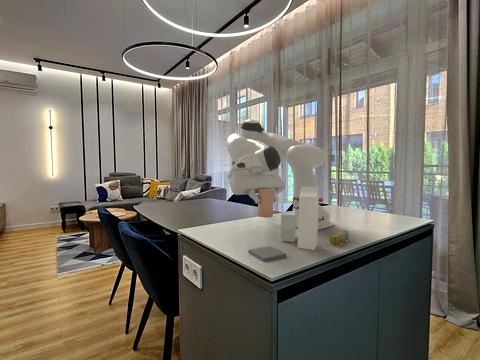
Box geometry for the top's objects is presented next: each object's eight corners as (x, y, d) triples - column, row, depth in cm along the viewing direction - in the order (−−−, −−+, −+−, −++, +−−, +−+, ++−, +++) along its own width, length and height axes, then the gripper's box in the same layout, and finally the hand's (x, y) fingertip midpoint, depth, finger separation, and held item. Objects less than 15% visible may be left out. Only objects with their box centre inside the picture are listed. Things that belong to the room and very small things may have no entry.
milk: (314, 250, 92) (316, 188, 90) (297, 248, 94) (299, 187, 93) (317, 245, 97) (319, 186, 96) (300, 243, 100) (302, 185, 98)
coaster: (270, 248, 93) (270, 245, 93) (286, 256, 85) (286, 253, 85) (248, 252, 89) (248, 249, 89) (263, 261, 81) (263, 258, 81)
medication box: (341, 239, 107) (341, 229, 107) (348, 240, 105) (348, 230, 105) (329, 246, 98) (329, 235, 98) (337, 247, 96) (337, 236, 96)
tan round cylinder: (266, 214, 90) (267, 188, 89) (275, 216, 86) (276, 189, 85) (255, 215, 87) (255, 188, 87) (263, 218, 83) (264, 190, 83)
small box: (295, 242, 101) (295, 215, 100) (280, 241, 102) (281, 214, 101) (294, 236, 109) (295, 211, 108) (281, 235, 110) (281, 210, 109)
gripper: (271, 176, 101) (287, 205, 93) (223, 177, 91) (236, 209, 83) (278, 165, 97) (296, 194, 89) (229, 164, 86) (244, 197, 79)
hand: (266, 201), depth 86 cm, fingers closed on tan round cylinder, 5 cm apart
